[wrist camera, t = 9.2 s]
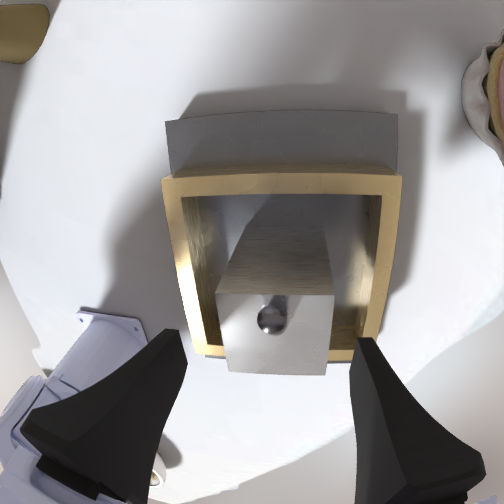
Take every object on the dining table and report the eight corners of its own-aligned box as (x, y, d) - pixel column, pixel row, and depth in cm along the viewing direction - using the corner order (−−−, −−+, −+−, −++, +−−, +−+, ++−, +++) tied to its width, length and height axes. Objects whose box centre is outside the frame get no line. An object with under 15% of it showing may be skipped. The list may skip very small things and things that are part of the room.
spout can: (320, 292, 19) (325, 400, 12) (250, 291, 20) (221, 394, 12) (323, 224, 17) (338, 318, 9) (244, 225, 18) (203, 314, 10)
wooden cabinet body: (362, 345, 23) (369, 386, 19) (211, 341, 25) (196, 379, 21) (387, 114, 15) (413, 115, 11) (177, 120, 17) (144, 124, 13)
